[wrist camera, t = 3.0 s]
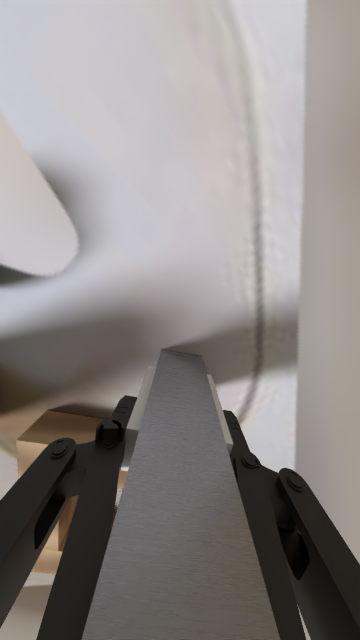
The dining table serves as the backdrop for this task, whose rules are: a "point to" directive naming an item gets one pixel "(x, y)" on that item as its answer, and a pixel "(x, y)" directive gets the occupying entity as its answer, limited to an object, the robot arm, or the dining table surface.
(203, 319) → the dining table surface
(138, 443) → the bracket
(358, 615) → the robot arm
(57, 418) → the wooden rectangular frame
